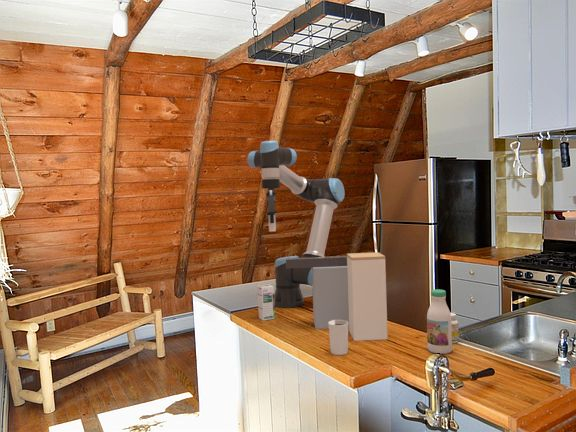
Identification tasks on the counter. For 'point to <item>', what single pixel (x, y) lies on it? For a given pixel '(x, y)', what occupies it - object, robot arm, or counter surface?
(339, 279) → the tall grey pillar block
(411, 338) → the counter surface
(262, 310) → the syrup box
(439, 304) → the milk bottle
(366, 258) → the cabinet block
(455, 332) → the supplement bottle
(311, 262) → the handle rail
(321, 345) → the counter surface
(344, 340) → the white cup
